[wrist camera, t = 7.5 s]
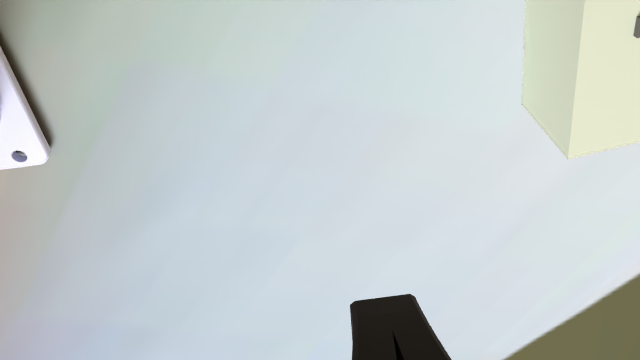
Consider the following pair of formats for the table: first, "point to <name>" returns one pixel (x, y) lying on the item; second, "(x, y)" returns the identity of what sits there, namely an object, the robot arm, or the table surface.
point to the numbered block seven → (583, 72)
